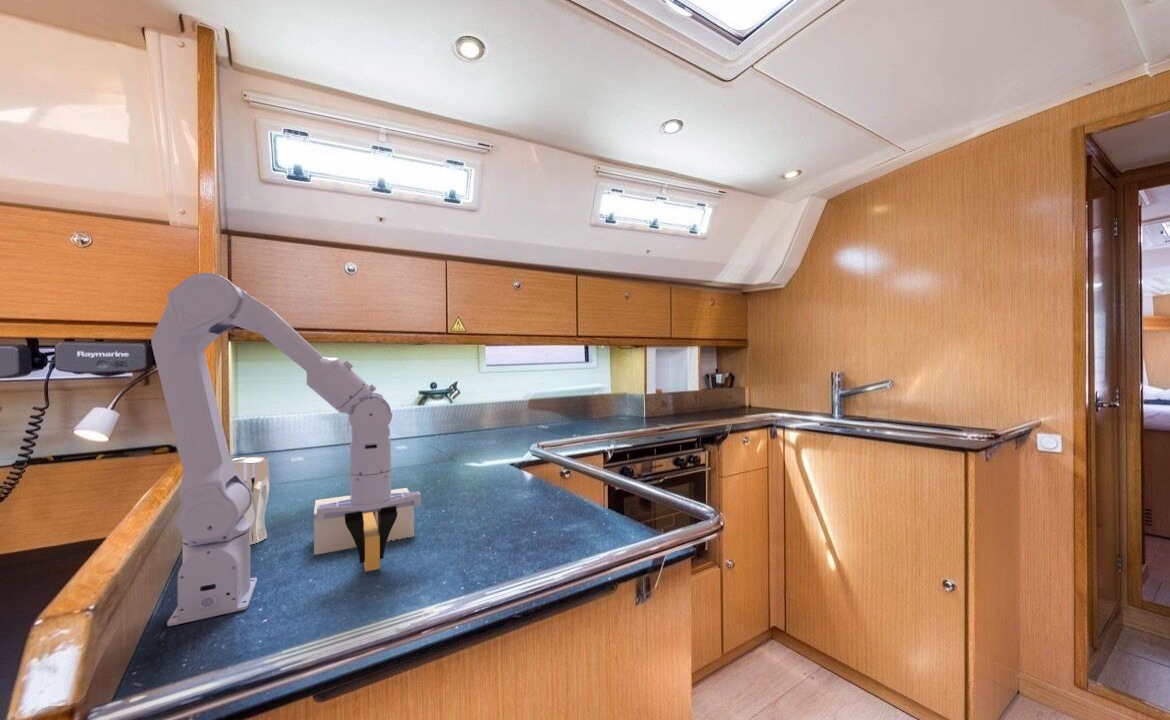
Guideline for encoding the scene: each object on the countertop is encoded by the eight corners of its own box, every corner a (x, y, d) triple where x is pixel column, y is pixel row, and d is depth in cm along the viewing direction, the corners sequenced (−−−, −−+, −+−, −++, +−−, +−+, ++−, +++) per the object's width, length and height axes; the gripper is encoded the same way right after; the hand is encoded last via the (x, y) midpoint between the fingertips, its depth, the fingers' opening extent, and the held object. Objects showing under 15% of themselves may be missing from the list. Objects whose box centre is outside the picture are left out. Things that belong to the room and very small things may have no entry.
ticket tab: (379, 568, 68) (379, 535, 68) (365, 571, 67) (365, 538, 67) (372, 538, 81) (372, 510, 81) (360, 540, 80) (360, 512, 80)
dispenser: (414, 537, 83) (414, 499, 84) (313, 556, 76) (313, 514, 76) (407, 522, 92) (406, 487, 92) (315, 537, 84) (315, 500, 84)
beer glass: (214, 545, 81) (214, 461, 81) (257, 532, 87) (257, 454, 87) (234, 552, 78) (234, 465, 78) (277, 538, 84) (277, 457, 84)
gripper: (415, 461, 77) (416, 540, 77) (317, 472, 70) (318, 559, 70) (422, 469, 71) (423, 555, 71) (316, 481, 64) (316, 577, 64)
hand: (371, 558), depth 70 cm, fingers closed on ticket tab, 2 cm apart
